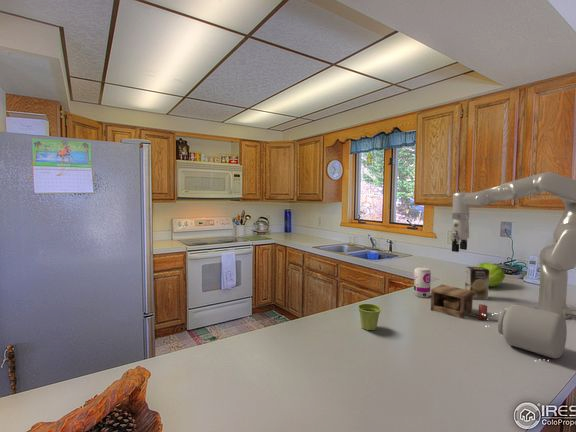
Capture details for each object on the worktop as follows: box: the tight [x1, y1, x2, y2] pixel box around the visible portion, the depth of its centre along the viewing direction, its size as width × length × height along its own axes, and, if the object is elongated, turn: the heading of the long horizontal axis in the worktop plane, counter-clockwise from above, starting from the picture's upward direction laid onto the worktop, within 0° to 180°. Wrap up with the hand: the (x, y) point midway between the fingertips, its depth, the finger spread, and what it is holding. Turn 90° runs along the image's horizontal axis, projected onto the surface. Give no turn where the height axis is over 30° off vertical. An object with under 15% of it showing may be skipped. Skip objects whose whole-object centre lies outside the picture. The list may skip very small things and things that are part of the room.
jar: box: [482, 304, 568, 362], centre depth 111 cm, size 19×15×25 cm
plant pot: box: [357, 302, 382, 331], centre depth 127 cm, size 9×9×9 cm
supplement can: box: [413, 266, 432, 299], centre depth 168 cm, size 8×8×15 cm
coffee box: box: [464, 266, 489, 301], centre depth 164 cm, size 9×6×16 cm
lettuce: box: [476, 262, 506, 288], centre depth 185 cm, size 15×22×15 cm
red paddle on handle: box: [443, 298, 488, 321], centre depth 141 cm, size 17×5×6 cm, turn 42°
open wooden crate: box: [430, 284, 474, 319], centre depth 145 cm, size 14×12×10 cm
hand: (459, 250), depth 156 cm, fingers open, 9 cm apart
